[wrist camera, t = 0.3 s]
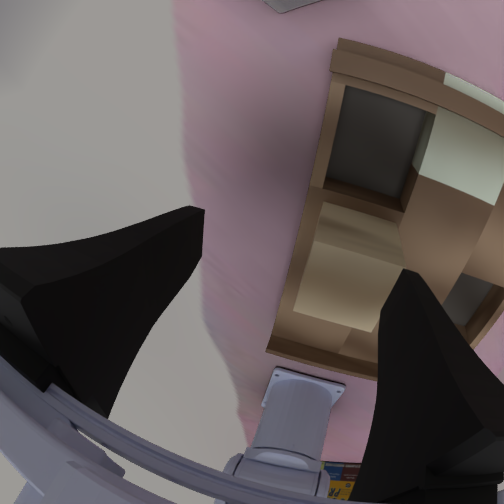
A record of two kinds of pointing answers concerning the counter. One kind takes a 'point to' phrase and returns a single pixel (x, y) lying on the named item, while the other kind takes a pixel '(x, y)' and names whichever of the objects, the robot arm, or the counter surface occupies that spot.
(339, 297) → the maple block
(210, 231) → the counter surface
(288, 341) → the trap board
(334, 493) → the protein box
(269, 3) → the syrup box
